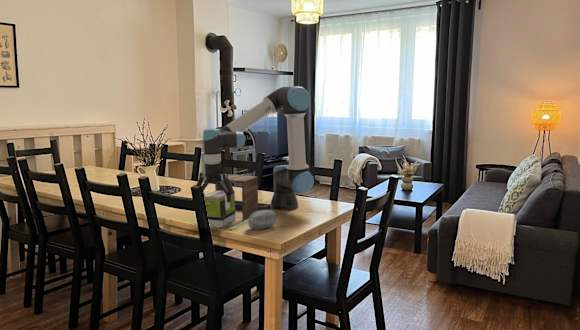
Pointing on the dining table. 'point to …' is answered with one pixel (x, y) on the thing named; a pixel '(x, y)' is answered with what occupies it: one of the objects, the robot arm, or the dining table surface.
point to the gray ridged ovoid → (262, 219)
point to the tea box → (219, 209)
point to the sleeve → (246, 192)
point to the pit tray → (260, 206)
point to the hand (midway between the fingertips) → (215, 207)
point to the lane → (235, 225)
